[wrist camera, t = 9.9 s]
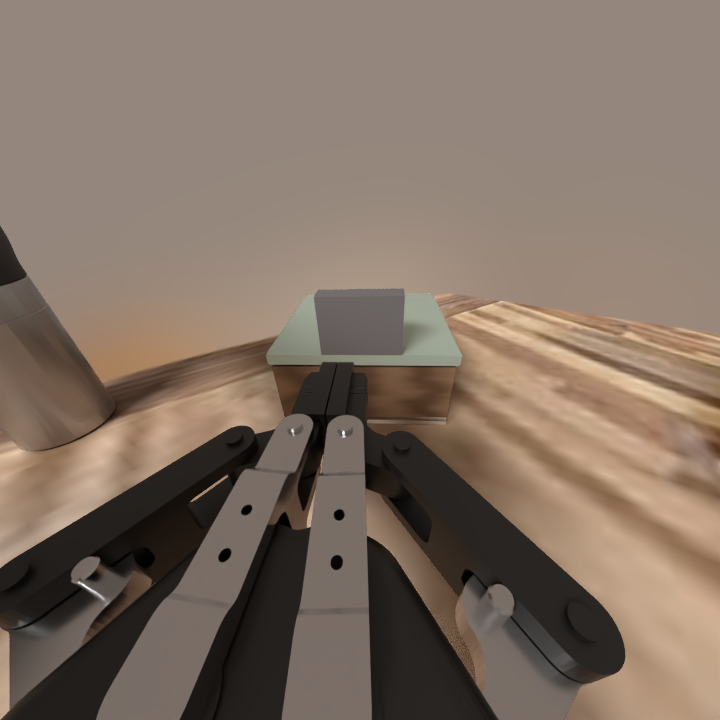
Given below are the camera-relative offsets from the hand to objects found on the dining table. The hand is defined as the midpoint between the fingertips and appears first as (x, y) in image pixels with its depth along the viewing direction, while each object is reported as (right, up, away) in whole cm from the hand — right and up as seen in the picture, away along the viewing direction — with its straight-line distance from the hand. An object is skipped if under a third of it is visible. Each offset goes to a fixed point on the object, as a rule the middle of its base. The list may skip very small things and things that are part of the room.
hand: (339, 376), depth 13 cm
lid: (+2, +5, +22) cm, 23 cm away
